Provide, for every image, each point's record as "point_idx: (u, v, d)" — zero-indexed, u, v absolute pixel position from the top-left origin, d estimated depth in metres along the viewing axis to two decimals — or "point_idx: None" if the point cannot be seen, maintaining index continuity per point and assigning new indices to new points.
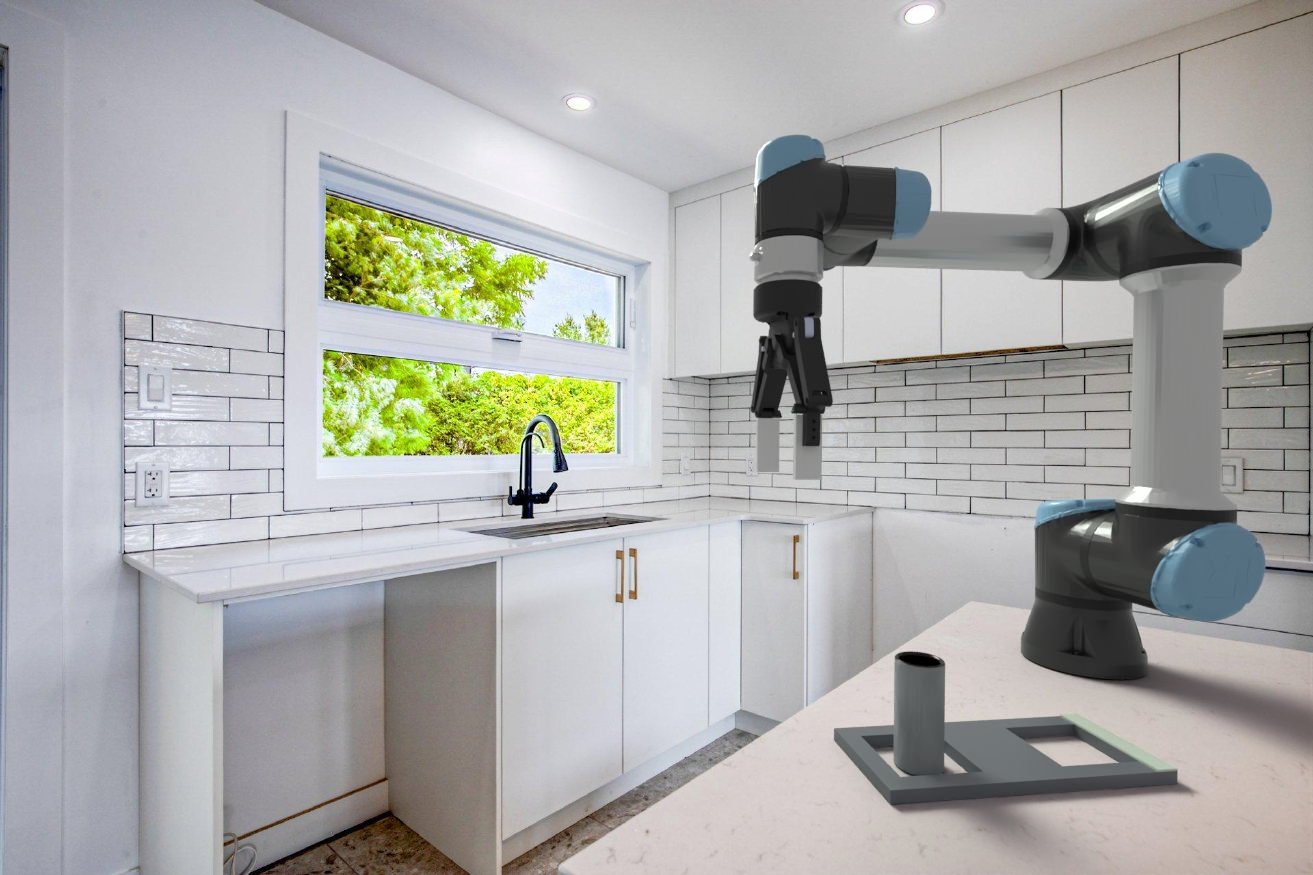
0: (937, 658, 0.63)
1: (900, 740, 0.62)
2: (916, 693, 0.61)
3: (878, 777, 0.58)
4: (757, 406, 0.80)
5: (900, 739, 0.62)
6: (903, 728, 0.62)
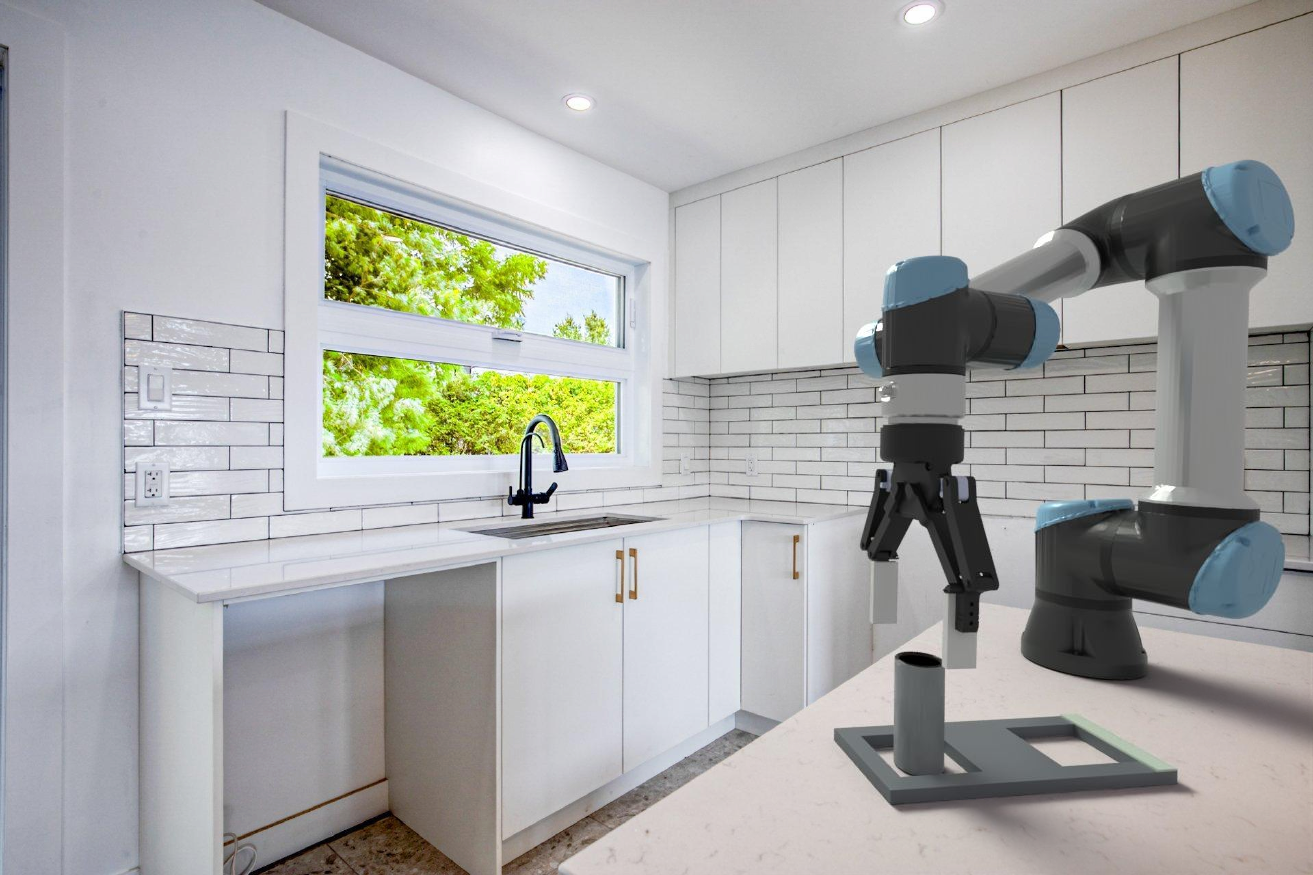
0: (937, 658, 0.63)
1: (900, 740, 0.62)
2: (916, 693, 0.61)
3: (878, 777, 0.58)
4: (872, 547, 0.70)
5: (900, 739, 0.62)
6: (903, 728, 0.62)
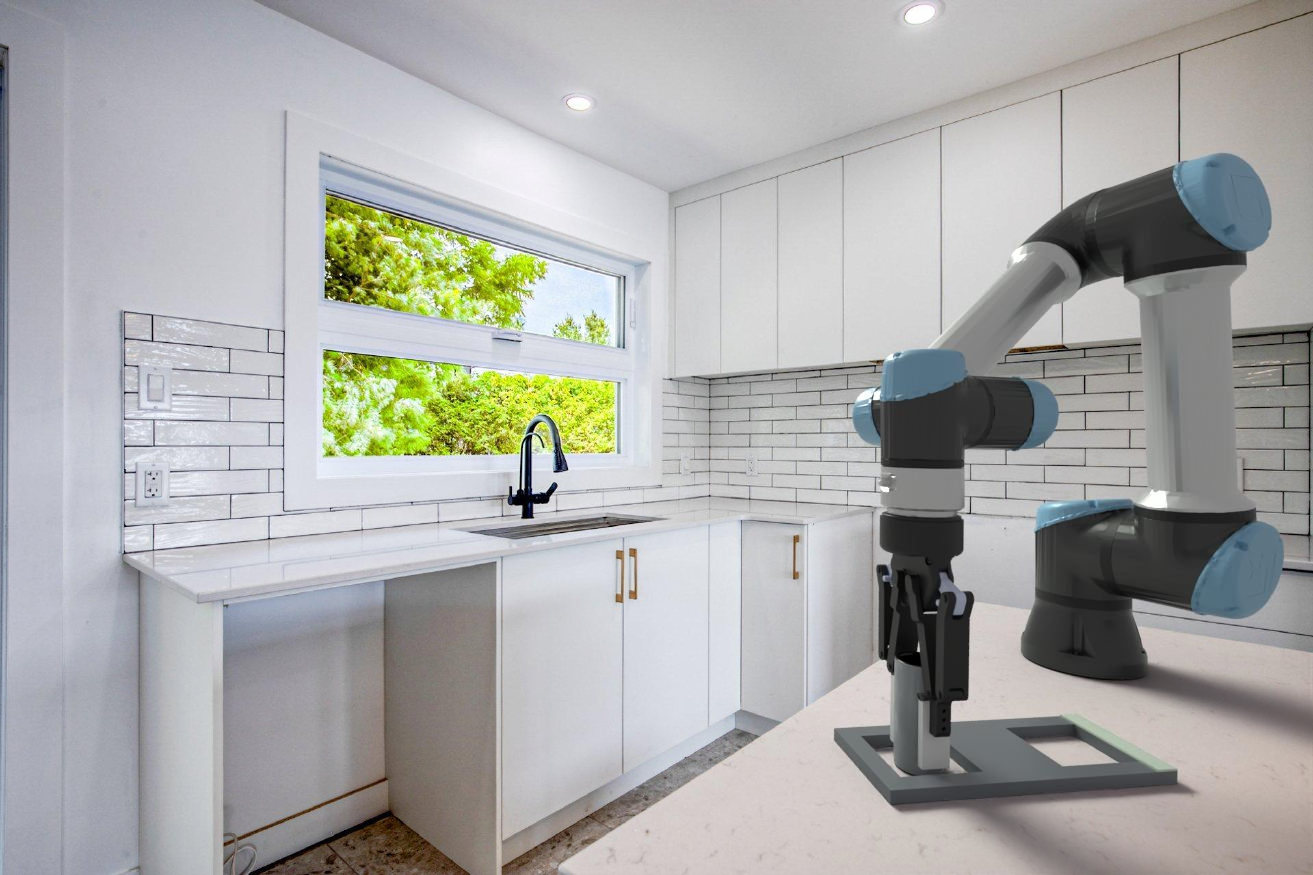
0: None
1: (900, 740, 0.62)
2: (916, 692, 0.61)
3: (878, 777, 0.58)
4: (890, 657, 0.66)
5: (900, 739, 0.62)
6: (903, 728, 0.62)
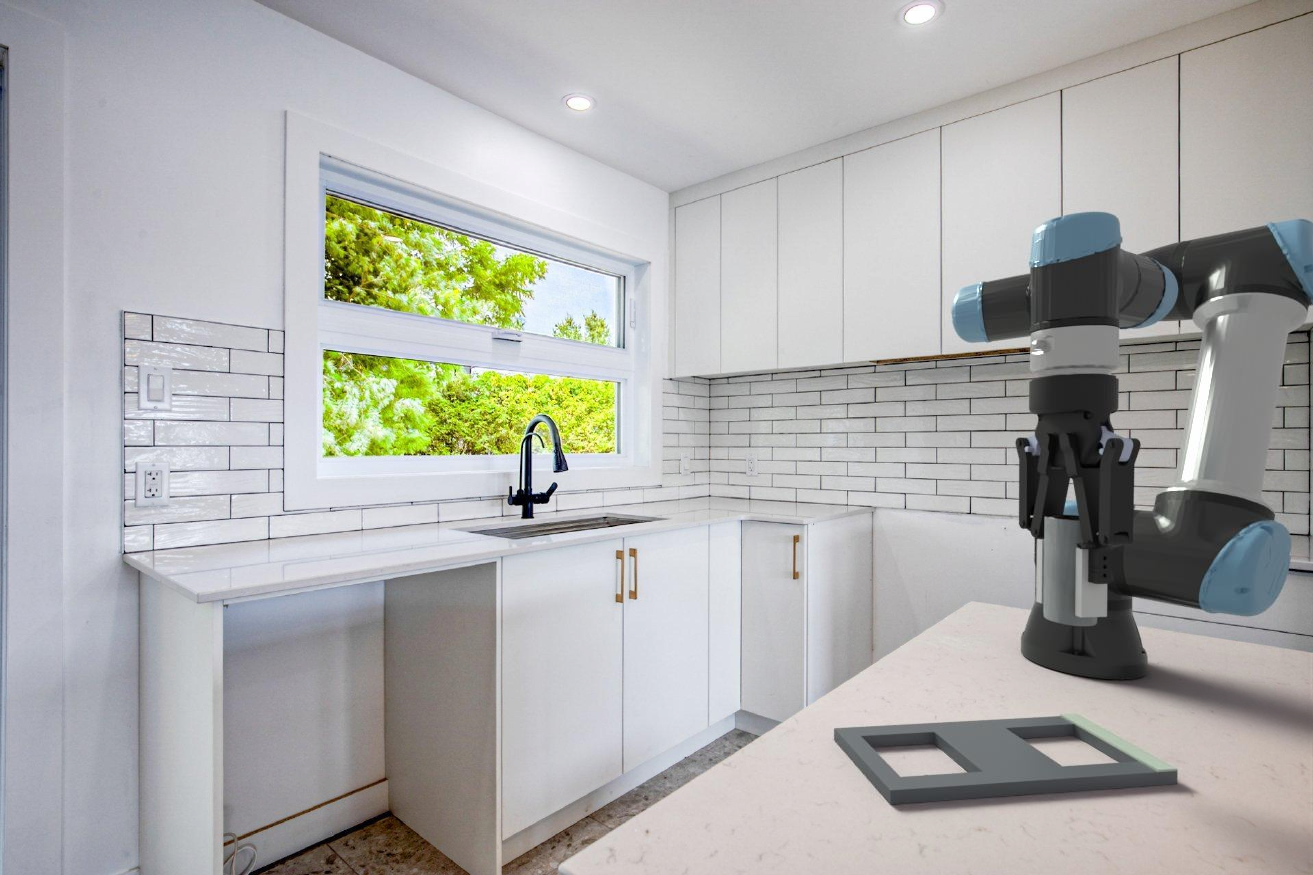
0: None
1: (1054, 594, 0.64)
2: (1072, 545, 0.63)
3: (878, 777, 0.58)
4: (1035, 523, 0.68)
5: (1054, 593, 0.64)
6: (1058, 581, 0.64)
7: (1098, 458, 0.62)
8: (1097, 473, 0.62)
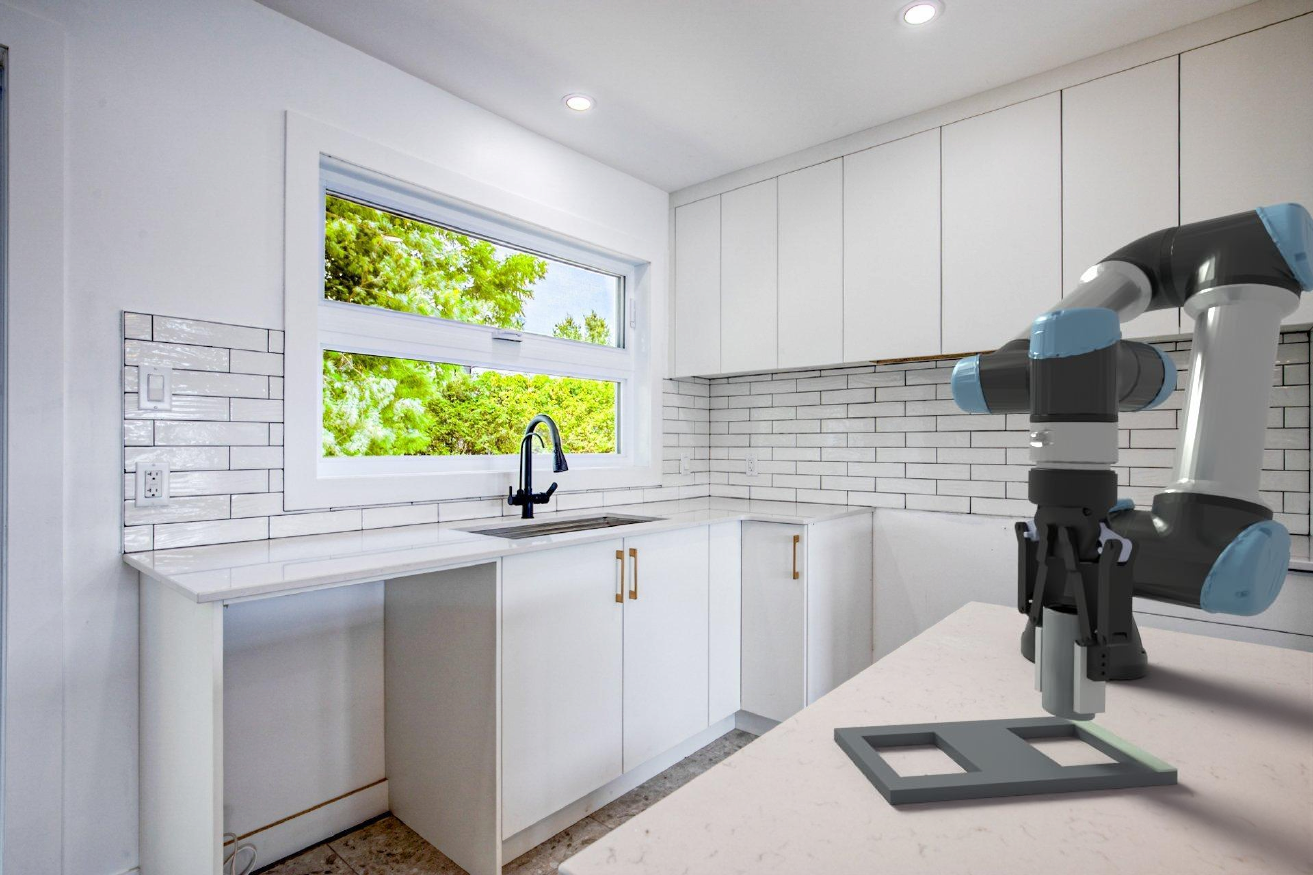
0: None
1: (1052, 687, 0.64)
2: (1070, 640, 0.63)
3: (878, 777, 0.58)
4: (1033, 610, 0.68)
5: (1052, 686, 0.64)
6: (1056, 675, 0.64)
7: (1097, 553, 0.62)
8: (1096, 568, 0.62)
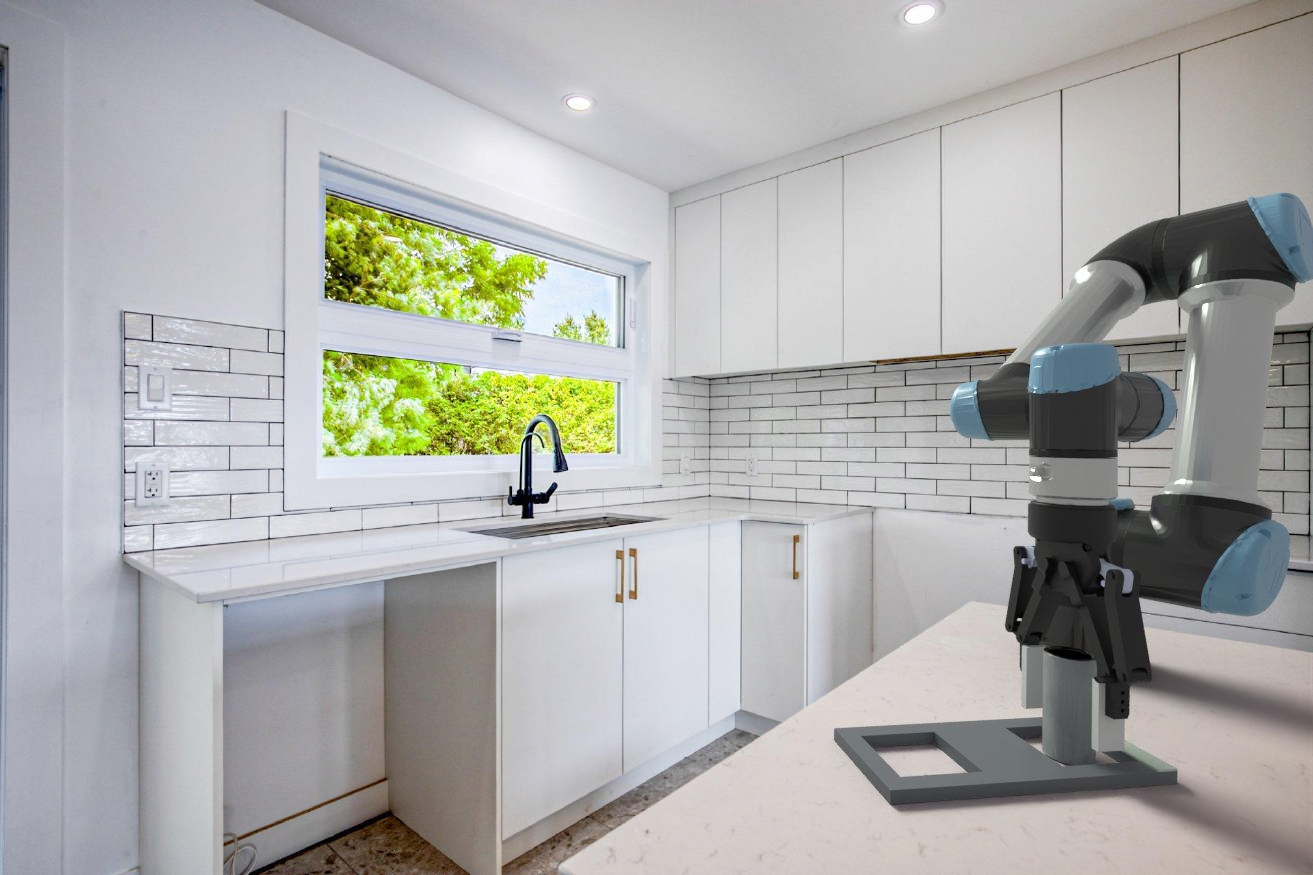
0: (1086, 652, 0.65)
1: (1052, 731, 0.64)
2: (1071, 685, 0.63)
3: (878, 777, 0.58)
4: (1021, 630, 0.70)
5: (1053, 730, 0.64)
6: (1056, 719, 0.64)
7: (1097, 589, 0.62)
8: (1101, 602, 0.62)
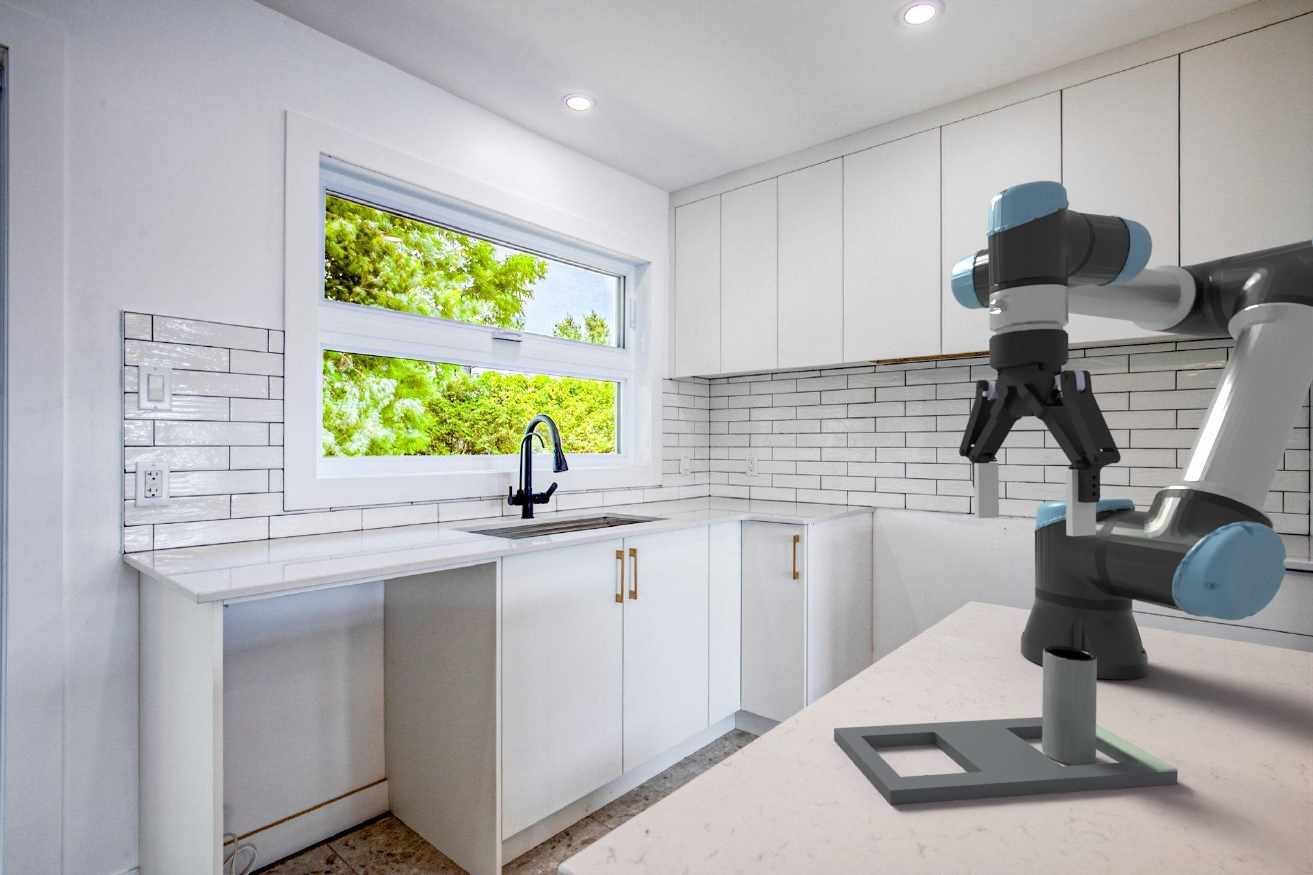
0: (1085, 652, 0.66)
1: (1052, 731, 0.64)
2: (1070, 685, 0.63)
3: (878, 777, 0.58)
4: (974, 451, 0.78)
5: (1053, 730, 0.64)
6: (1056, 719, 0.64)
7: (1052, 405, 0.69)
8: (1061, 409, 0.67)
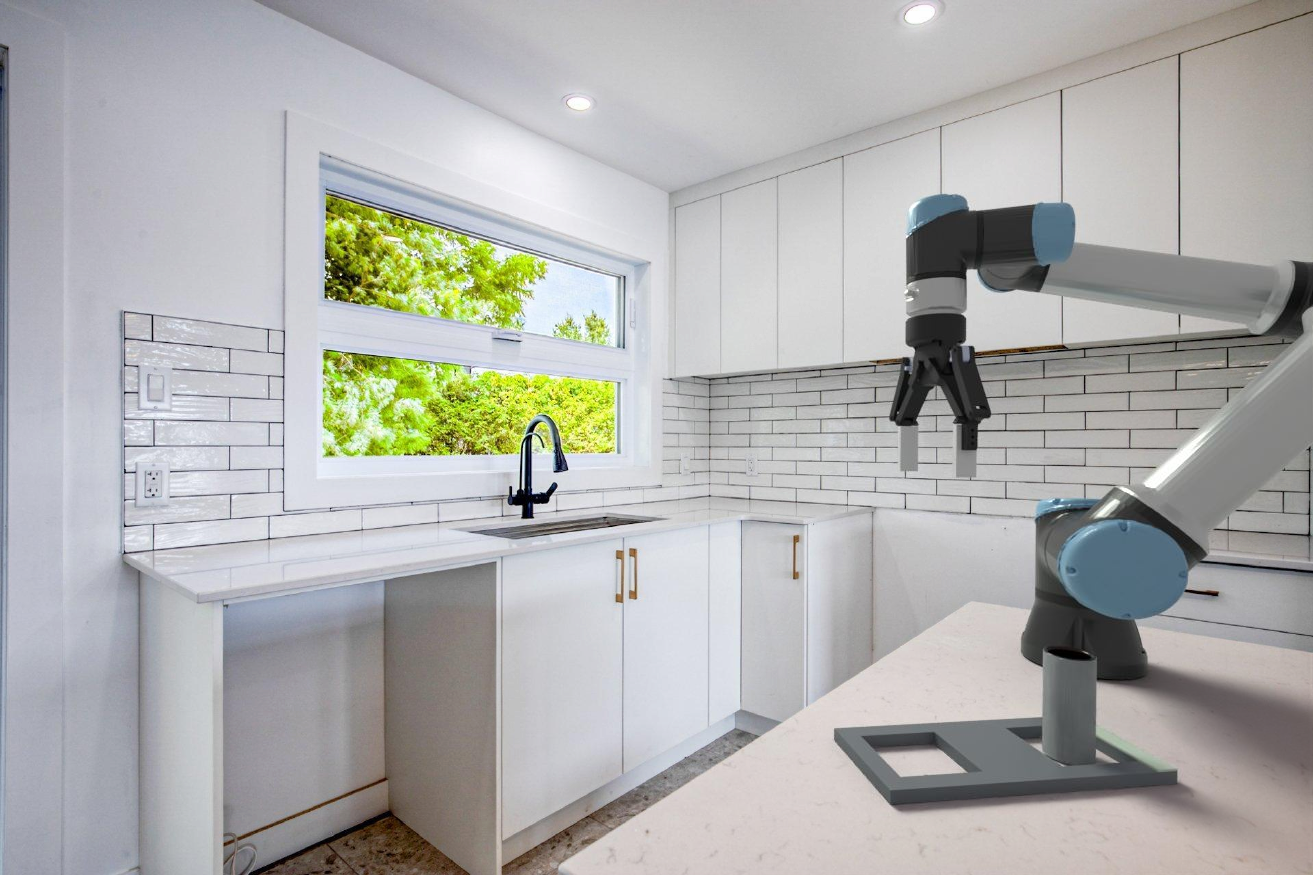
0: (1085, 652, 0.66)
1: (1052, 731, 0.64)
2: (1070, 685, 0.63)
3: (878, 777, 0.58)
4: (898, 416, 0.95)
5: (1053, 730, 0.64)
6: (1056, 719, 0.64)
7: (950, 375, 0.85)
8: (955, 378, 0.84)
